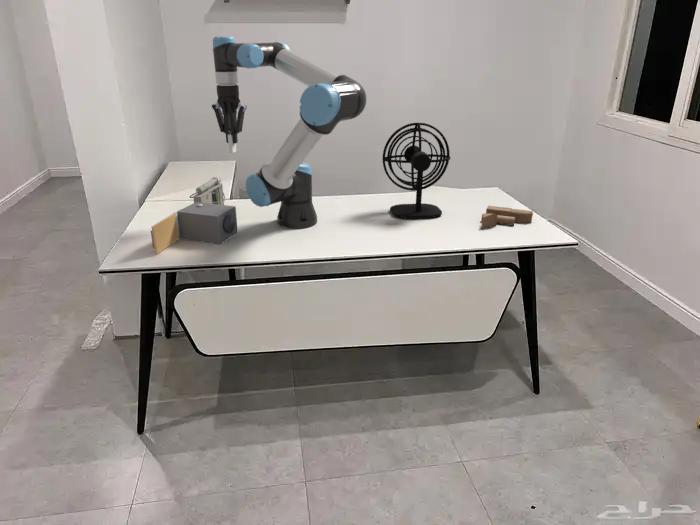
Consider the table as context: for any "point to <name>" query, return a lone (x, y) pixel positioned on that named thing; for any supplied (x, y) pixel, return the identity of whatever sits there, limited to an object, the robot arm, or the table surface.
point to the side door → (165, 232)
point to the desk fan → (419, 163)
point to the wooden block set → (504, 216)
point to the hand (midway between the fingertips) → (232, 152)
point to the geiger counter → (210, 192)
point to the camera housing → (207, 222)
